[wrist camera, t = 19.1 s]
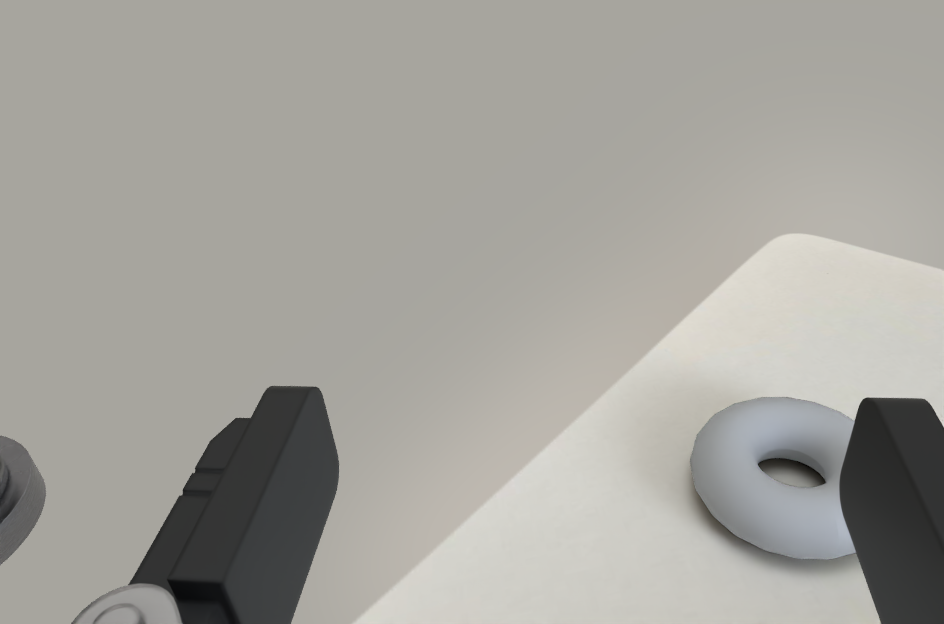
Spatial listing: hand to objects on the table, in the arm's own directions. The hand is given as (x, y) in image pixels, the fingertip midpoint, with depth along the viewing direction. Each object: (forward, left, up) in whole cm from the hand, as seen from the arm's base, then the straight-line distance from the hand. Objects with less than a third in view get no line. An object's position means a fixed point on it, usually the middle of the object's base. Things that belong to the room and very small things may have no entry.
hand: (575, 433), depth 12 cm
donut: (+11, +20, -24) cm, 33 cm away
